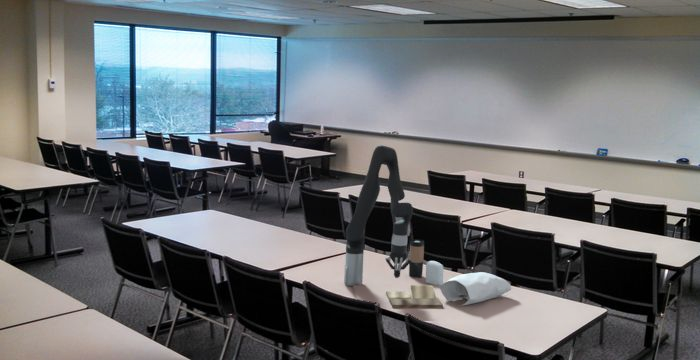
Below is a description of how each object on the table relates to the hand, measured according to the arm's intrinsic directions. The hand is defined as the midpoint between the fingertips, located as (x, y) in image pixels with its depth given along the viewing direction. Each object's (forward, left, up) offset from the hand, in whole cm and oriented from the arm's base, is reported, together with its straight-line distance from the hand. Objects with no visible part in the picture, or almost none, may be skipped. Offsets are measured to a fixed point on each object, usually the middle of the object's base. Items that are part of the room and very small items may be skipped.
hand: (396, 277), depth 312 cm
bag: (+40, -1, -11) cm, 41 cm away
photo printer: (+25, +23, -11) cm, 35 cm away
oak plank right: (+13, -2, -8) cm, 15 cm away
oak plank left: (+1, -1, -10) cm, 10 cm away
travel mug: (+18, +37, -11) cm, 42 cm away
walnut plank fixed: (+8, -11, -10) cm, 17 cm away
